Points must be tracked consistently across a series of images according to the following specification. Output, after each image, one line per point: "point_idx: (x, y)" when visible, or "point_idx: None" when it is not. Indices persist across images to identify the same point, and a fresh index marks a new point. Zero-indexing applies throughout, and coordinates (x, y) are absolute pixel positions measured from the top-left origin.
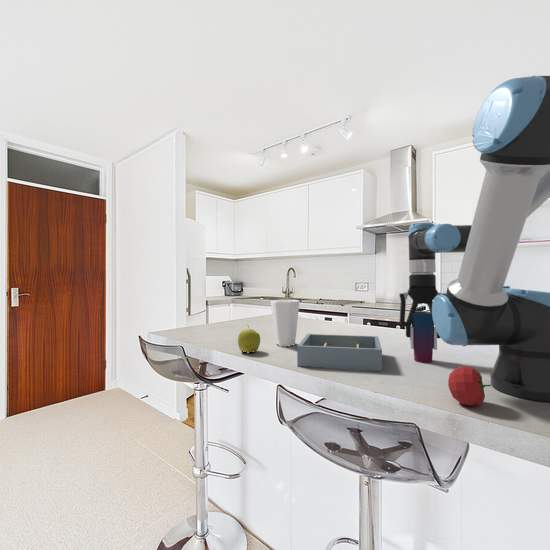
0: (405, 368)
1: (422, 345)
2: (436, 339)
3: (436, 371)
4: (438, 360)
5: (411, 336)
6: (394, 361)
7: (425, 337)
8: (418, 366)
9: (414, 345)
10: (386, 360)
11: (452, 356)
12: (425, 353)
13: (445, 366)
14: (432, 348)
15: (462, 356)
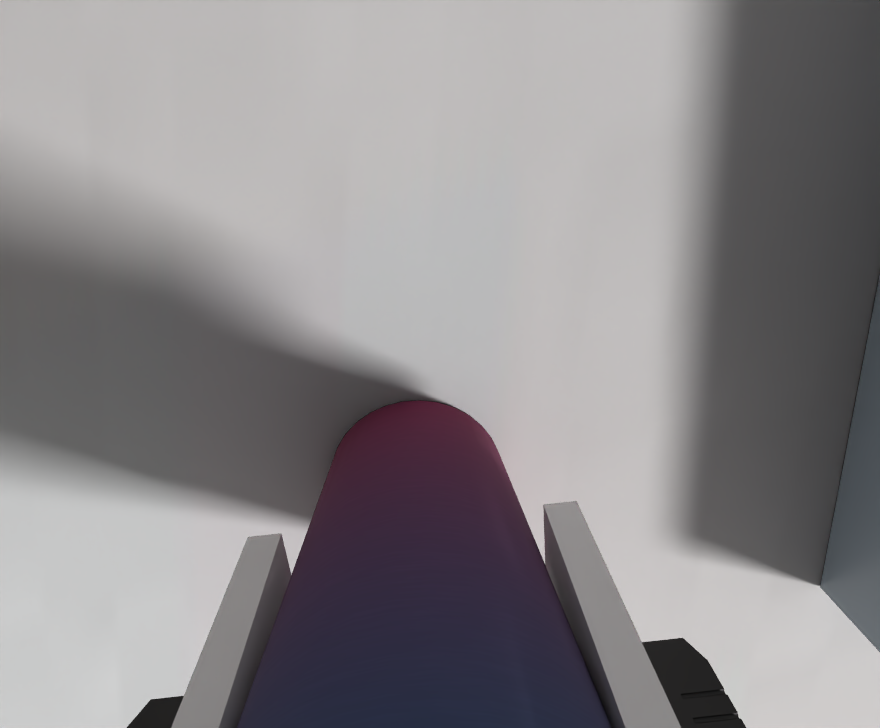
0: (640, 96)
1: (436, 503)
2: (208, 651)
3: (297, 69)
4: (270, 532)
5: (626, 637)
6: (712, 366)
7: (389, 591)
8: (483, 236)
9: (537, 549)
10: (789, 380)
11: (147, 695)
12: (397, 446)
13: (201, 327)
14: (302, 546)
15: (62, 719)
